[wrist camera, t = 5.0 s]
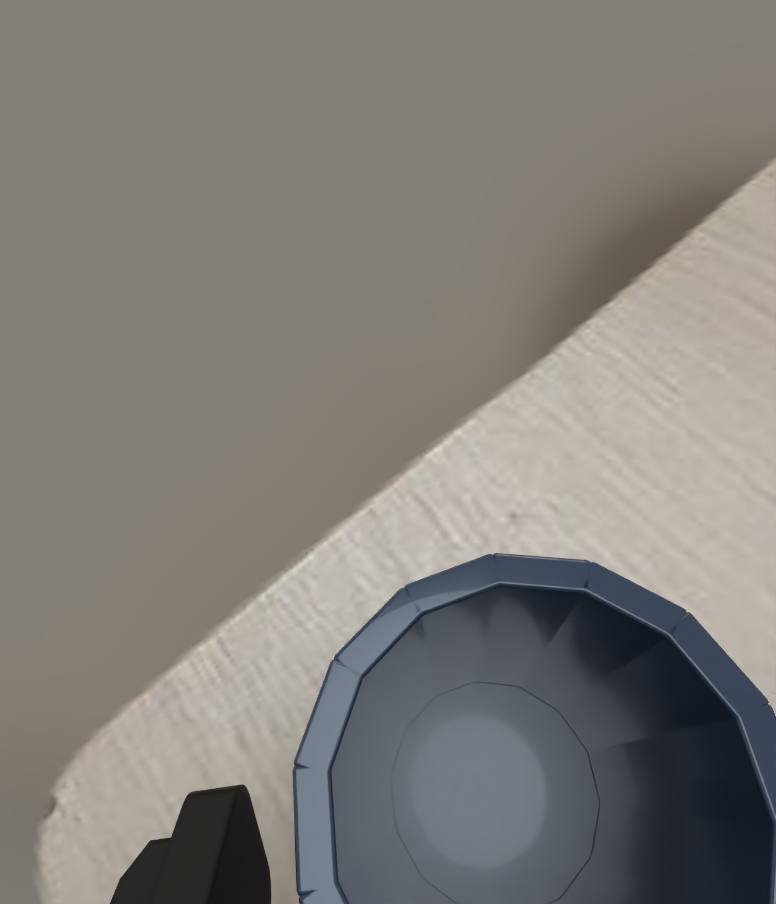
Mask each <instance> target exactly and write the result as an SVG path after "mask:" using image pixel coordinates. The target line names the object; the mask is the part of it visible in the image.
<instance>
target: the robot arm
mask: <svg viewBox="0 0 776 904" xmlns="http://www.w3.org/2000/svg"><path fill="white" fill-rule="evenodd" d="M110 904H271V880H270V871H269V865H268V861H267V857H266V854H265V850H264V846H263V843H262V839H261V835H260V831H259V828H258V824H257V820H256V817H255V813H254V809H253V806H252V802H251V798H250V795H249V792H248V790H247V788H246V786H245V785H236V786H229V787H222V788H215V789H208V790H201V791H194V792H191V793H189V794H188V795H187V797H186V799H185V801H184V803H183V806H182V808H181V811H180V814H179V817H178V820H177V822H176V825H175V828H174V831H173V834H172V837H171V838H165V839H158V840H151V841H150V842H149V843H148V844H147V845H146V847H145V848H144V849H143V850H142V852H141V853H140V854H139V856H138V857H137V858H136V859H135V861H134V862H133V863H132V865H131V866H130V867H129V868H128V870H127V871H126V872H125V873H124V875H123V876H122V877H121V879H120V881H119V883H118V885H117V888H116V890H115V893H114V895H113V897H112V900H111V902H110Z"/></svg>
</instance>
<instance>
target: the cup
mask: <svg viewBox="0 0 776 904" xmlns="http://www.w3.org/2000/svg"><path fill="white" fill-rule="evenodd" d="M294 765H295V766H294V768H293V798H294V827H295V855H296V884H297V893H298V895H299V896H300V897H299V903H300V904H776V717H775V714H774V711H773V709H772V707H771V706H770V705H768V700H767V699H766V697H765V696H764V695H763V694H762V693H761V692H760V691H759V690H758V688H757V687H756V686H755V685H754V684H753V683H752V682H751V681H750V679H749V678H748V677H747V676H746V675H745V674H744V673H743V672H742V670H741V669H740V668H739V667H738V666H737V665H736V664H735V663H734V661H733V660H732V659H731V658H730V657H729V656H728V655H727V654H726V652H725V651H724V650H723V649H722V648H721V647H720V646H719V645H718V643H717V642H716V641H715V640H714V639H713V638H712V637H711V636H710V634H709V633H708V632H707V631H706V630H705V629H704V628H703V627H702V625H701V624H700V623H699V622H698V621H697V620H696V619H695V618H694V616H693V615H692V614H691V613H689V612H686V610H685V609H684V608H682V607H680V606H678V605H676V604H674V603H672V602H670V601H668V600H666V599H664V598H663V597H661V596H659V595H657V594H655V593H653V592H651V591H649V590H647V589H645V588H643V587H641V586H639V585H637V584H635V583H634V582H632V581H630V580H628V579H626V578H624V577H622V576H620V575H618V574H616V573H614V572H612V571H610V570H608V569H606V568H604V567H603V566H601V565H599V564H597V563H595V562H591V563H590V561H587V560H578V559H565V558H552V557H539V556H527V555H514V554H501V553H496V554H493V555H492V554H488V555H485V556H482V557H480V558H477V559H474V560H472V561H469V562H466V563H463V564H461V565H458V566H455V567H453V568H450V569H447V570H445V571H442V572H439V573H436V574H434V575H431V576H428V577H426V578H423V579H420V580H418V581H415V582H412V583H410V584H407V585H406V586H405V587H404V588H401V589H399V590H398V591H397V592H396V593H395V594H394V596H393V597H392V598H391V599H390V600H389V601H388V602H387V603H386V604H385V605H384V606H383V607H382V608H381V609H380V610H379V611H378V612H377V613H376V614H375V615H374V616H373V617H372V618H371V619H370V620H369V621H368V622H367V623H366V624H365V625H364V626H363V627H362V628H361V629H360V630H359V631H358V632H357V633H356V634H355V635H354V636H353V637H352V638H351V639H350V641H349V642H348V643H347V644H346V645H345V646H344V647H343V648H342V649H341V650H340V651H339V652H338V653H337V654H336V655H335V657H334V660H332V661H331V663H330V665H329V668H328V671H327V673H326V676H325V679H324V681H323V684H322V687H321V690H320V692H319V695H318V698H317V700H316V703H315V706H314V708H313V711H312V714H311V716H310V719H309V722H308V724H307V727H306V730H305V733H304V735H303V738H302V741H301V743H300V746H299V749H298V751H297V754H296V757H295V759H294Z"/></svg>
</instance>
